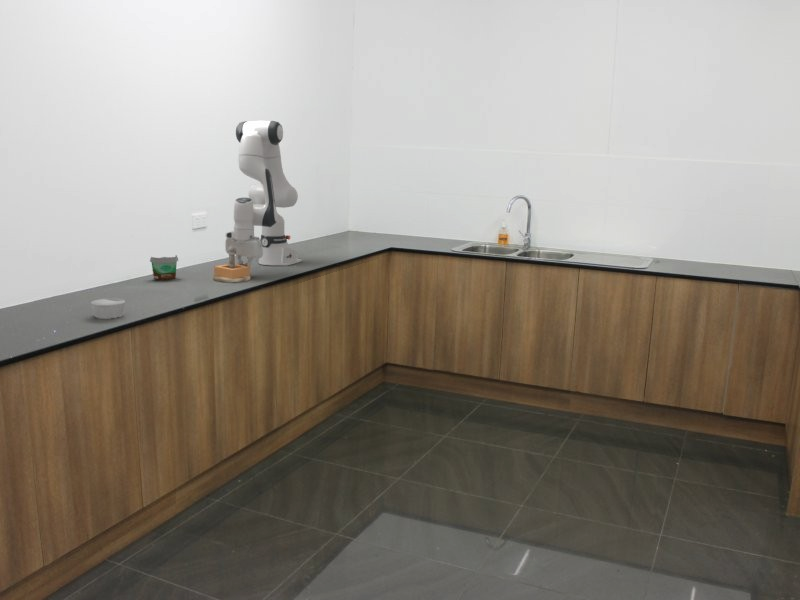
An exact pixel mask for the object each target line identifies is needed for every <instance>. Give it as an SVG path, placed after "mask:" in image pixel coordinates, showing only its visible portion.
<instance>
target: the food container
mask: <svg viewBox="0 0 800 600" xmlns="http://www.w3.org/2000/svg"><path fill="white" fill-rule="evenodd" d="M149 262H150V263H151V268H152V269H151V270H152V276H153V280H154V279H155V281H160V280H161V281H163V282H166V281H174V280H176V279H177V277H176V276H177V263H178V262H179V257H178V255H177V254H175V256H170V257H169V256H163V257H153V256H150V260H149Z"/></svg>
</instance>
